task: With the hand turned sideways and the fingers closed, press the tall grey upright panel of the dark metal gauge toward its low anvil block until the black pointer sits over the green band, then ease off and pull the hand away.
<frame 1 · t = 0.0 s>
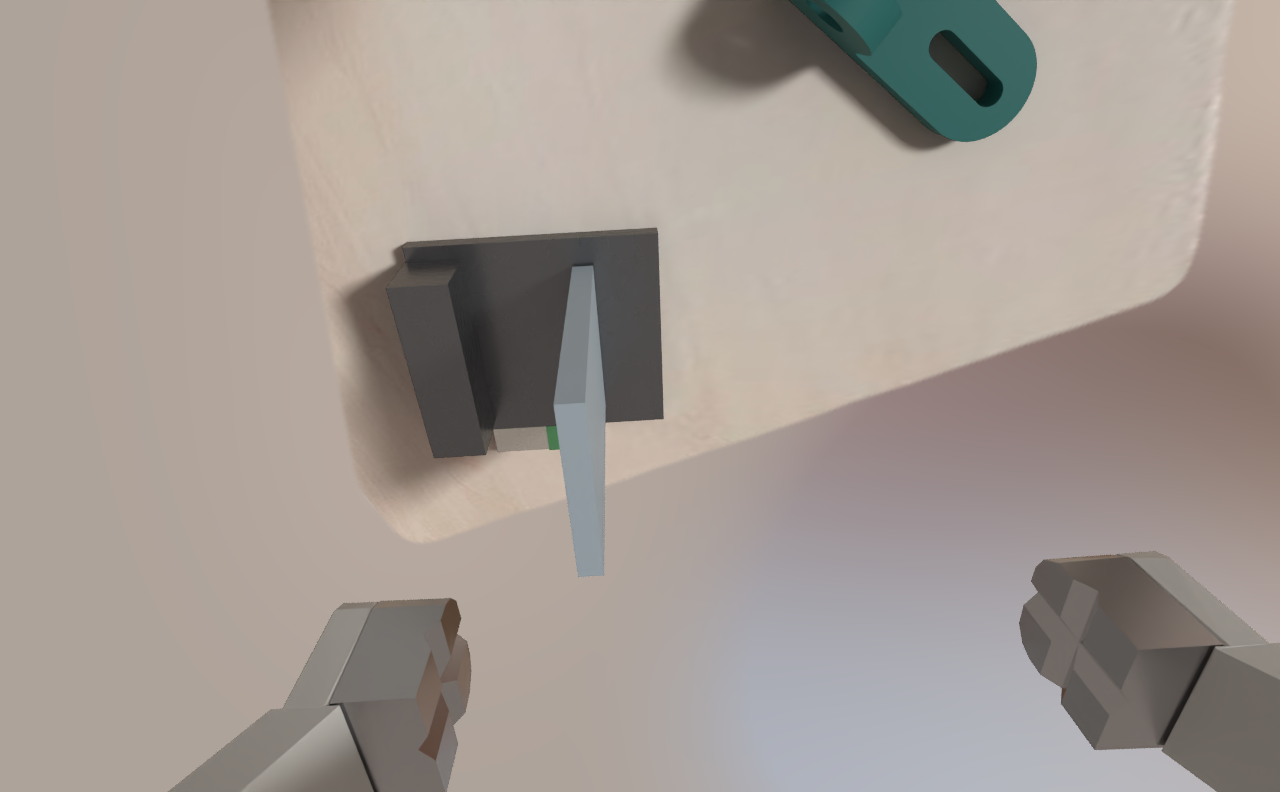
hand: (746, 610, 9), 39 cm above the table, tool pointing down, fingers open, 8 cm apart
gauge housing: (546, 334, 49), on the table
bracket: (904, 22, 39), on the table
grey upright panel: (589, 429, 42), point 10 cm above the table, slide at 0.0 cm
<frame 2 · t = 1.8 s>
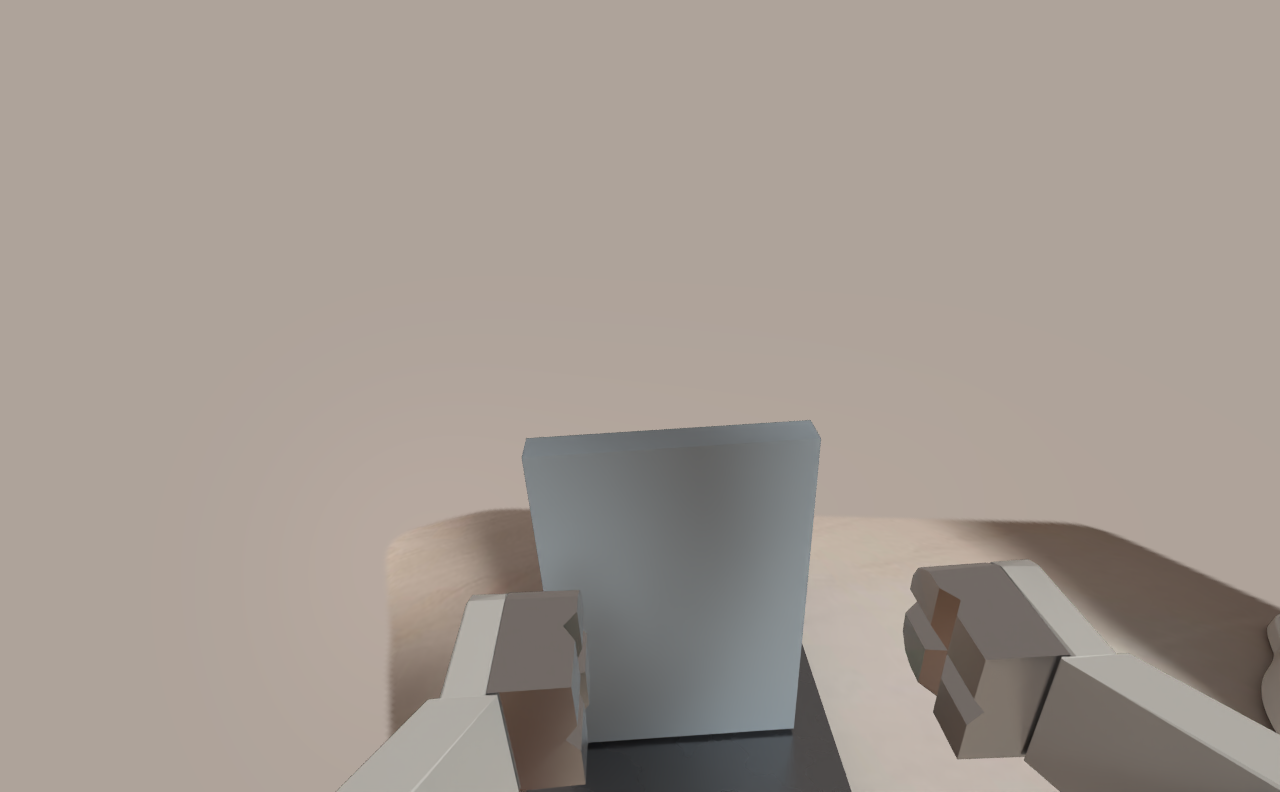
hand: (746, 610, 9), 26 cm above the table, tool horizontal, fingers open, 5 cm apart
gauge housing: (675, 685, 38), on the table
grey upright panel: (633, 603, 30), point 10 cm above the table, slide at 0.0 cm
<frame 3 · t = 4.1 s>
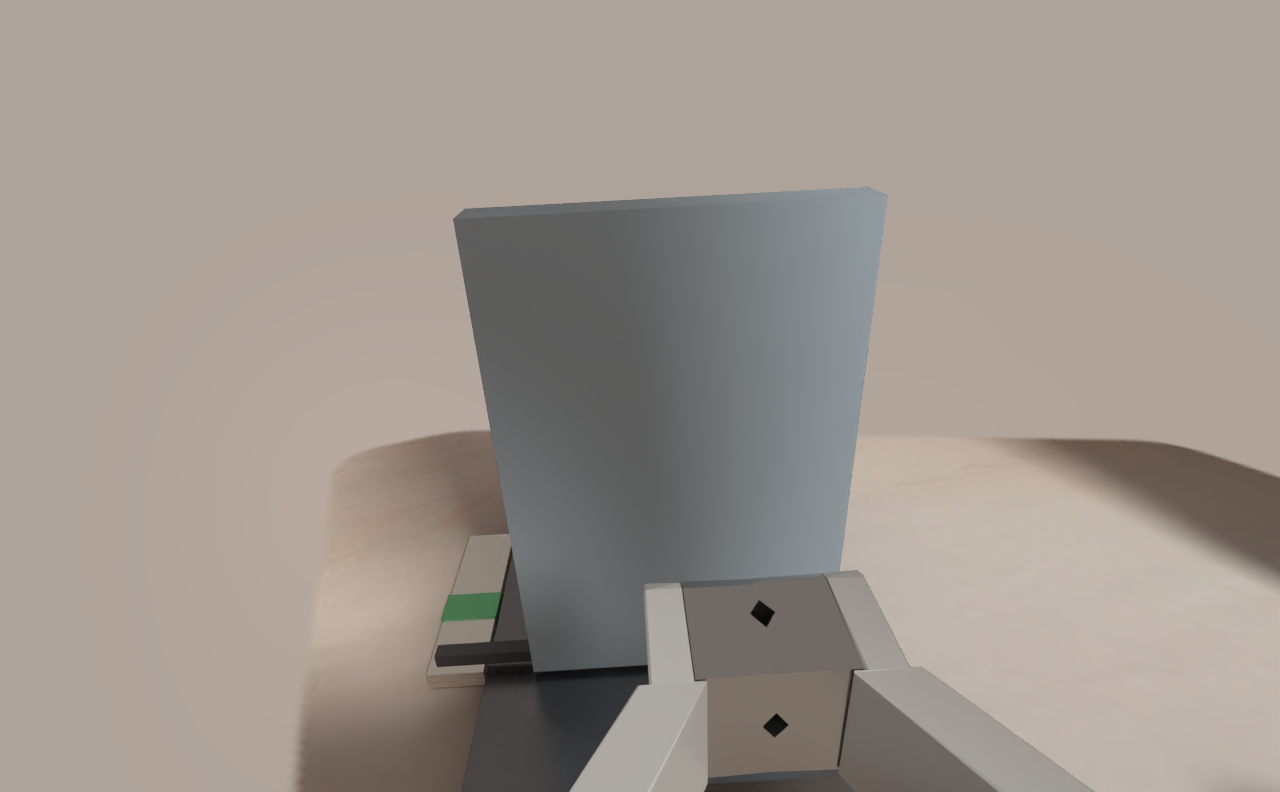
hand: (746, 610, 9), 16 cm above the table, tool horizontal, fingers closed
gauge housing: (673, 610, 30), on the table
grey upright panel: (618, 469, 22), point 11 cm above the table, slide at 0.0 cm
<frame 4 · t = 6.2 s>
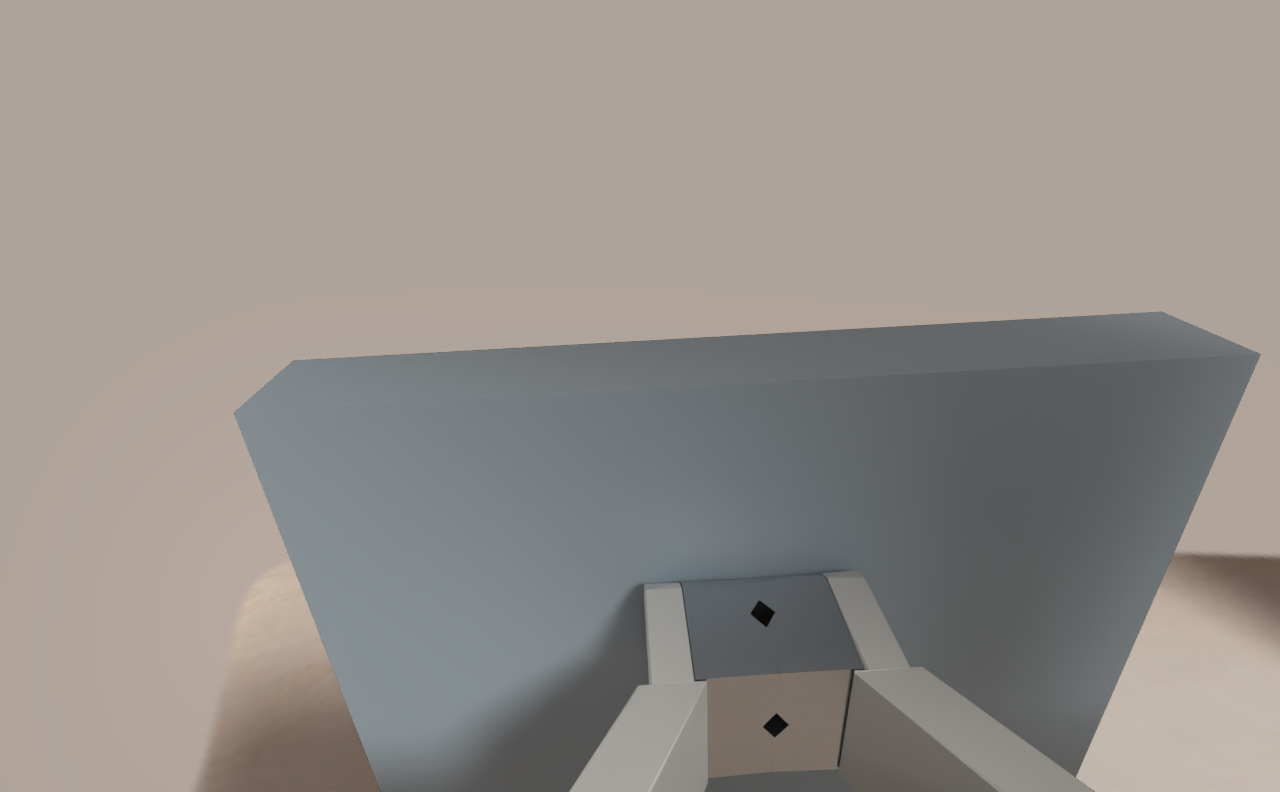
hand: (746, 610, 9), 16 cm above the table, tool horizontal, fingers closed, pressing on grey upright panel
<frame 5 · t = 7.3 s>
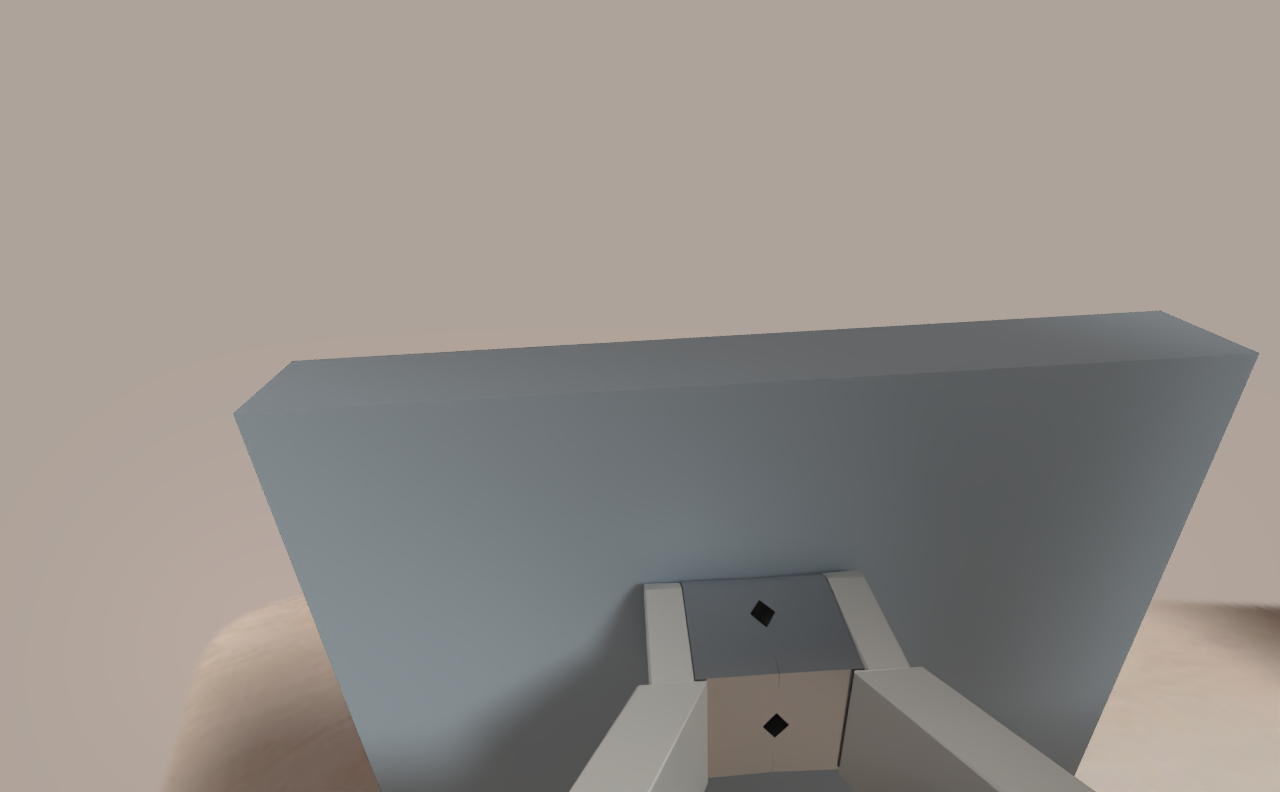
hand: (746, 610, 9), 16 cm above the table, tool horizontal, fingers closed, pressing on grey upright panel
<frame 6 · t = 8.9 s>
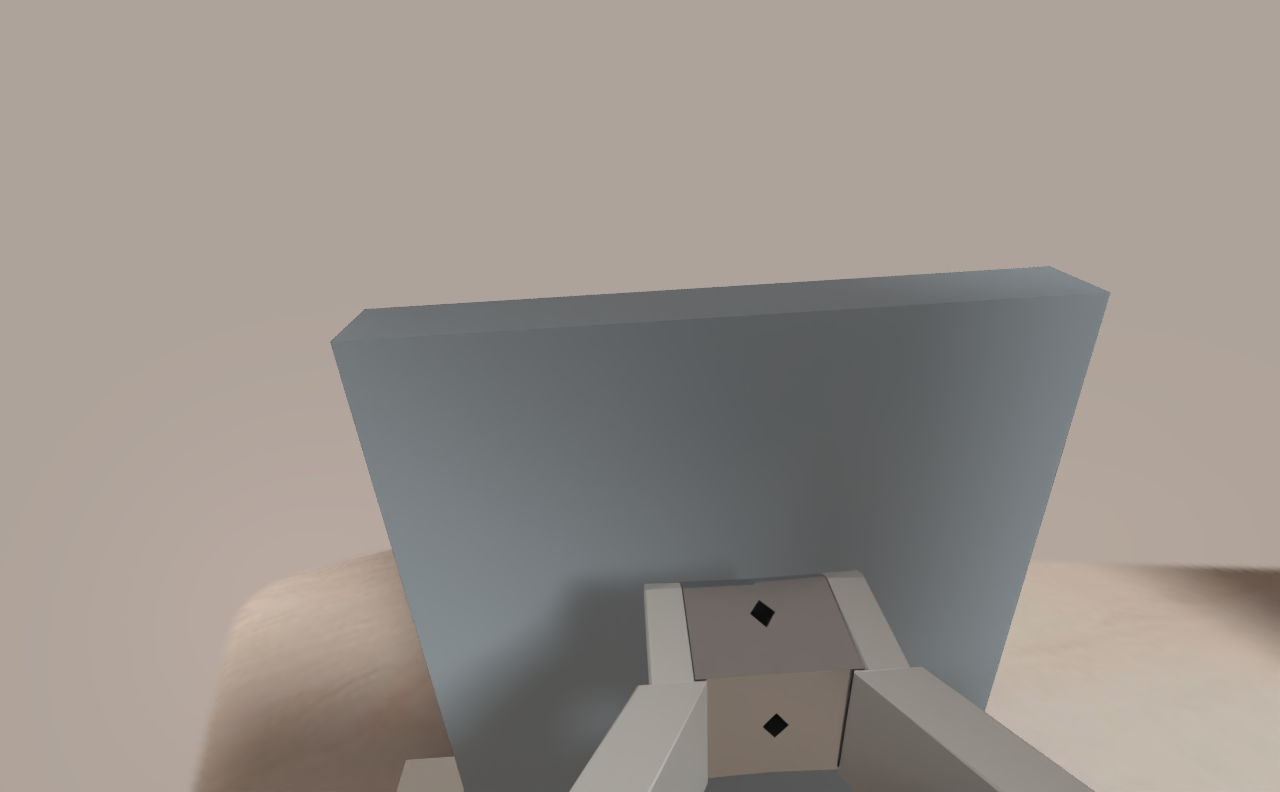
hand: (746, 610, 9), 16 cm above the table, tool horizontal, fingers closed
grey upright panel: (627, 683, 14), point 10 cm above the table, slide at 3.9 cm
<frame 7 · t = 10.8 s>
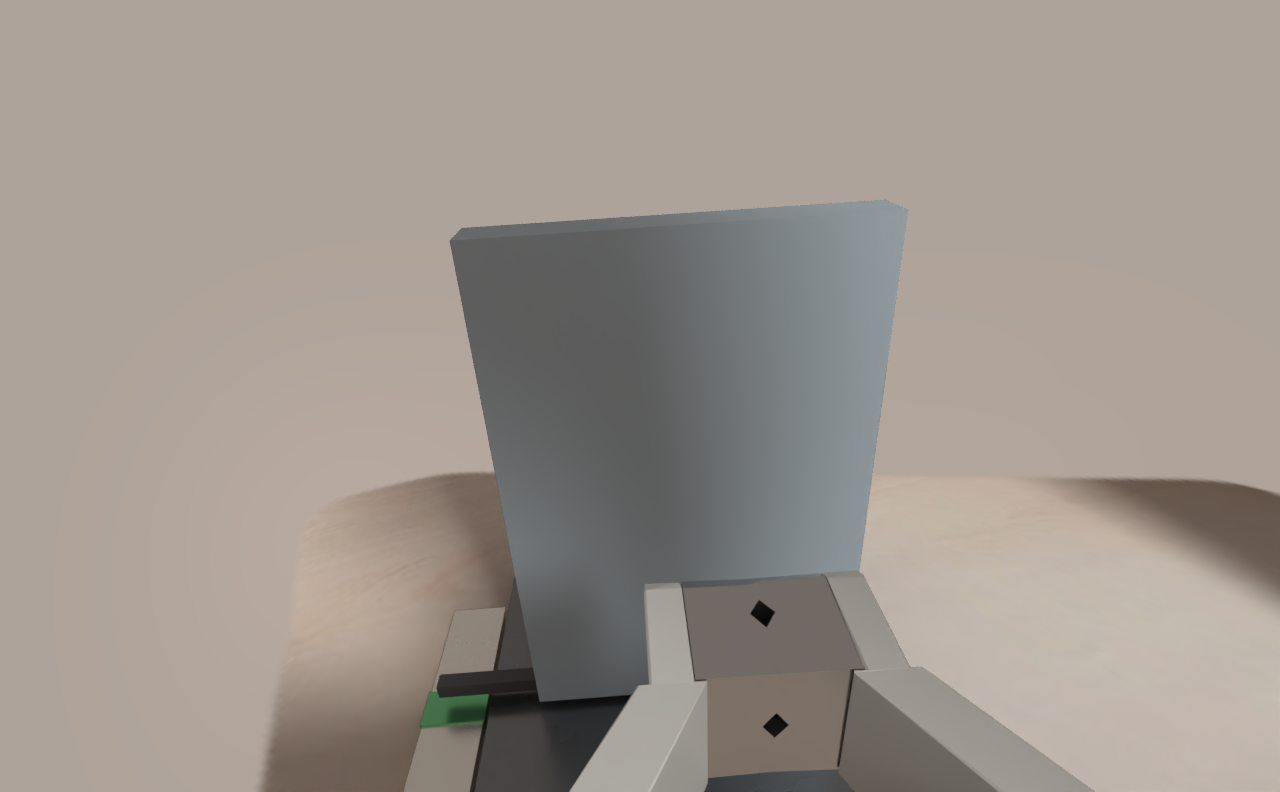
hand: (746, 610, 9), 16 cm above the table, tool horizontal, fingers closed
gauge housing: (692, 707, 26), on the table
grey upright panel: (625, 495, 21), point 11 cm above the table, slide at 3.9 cm
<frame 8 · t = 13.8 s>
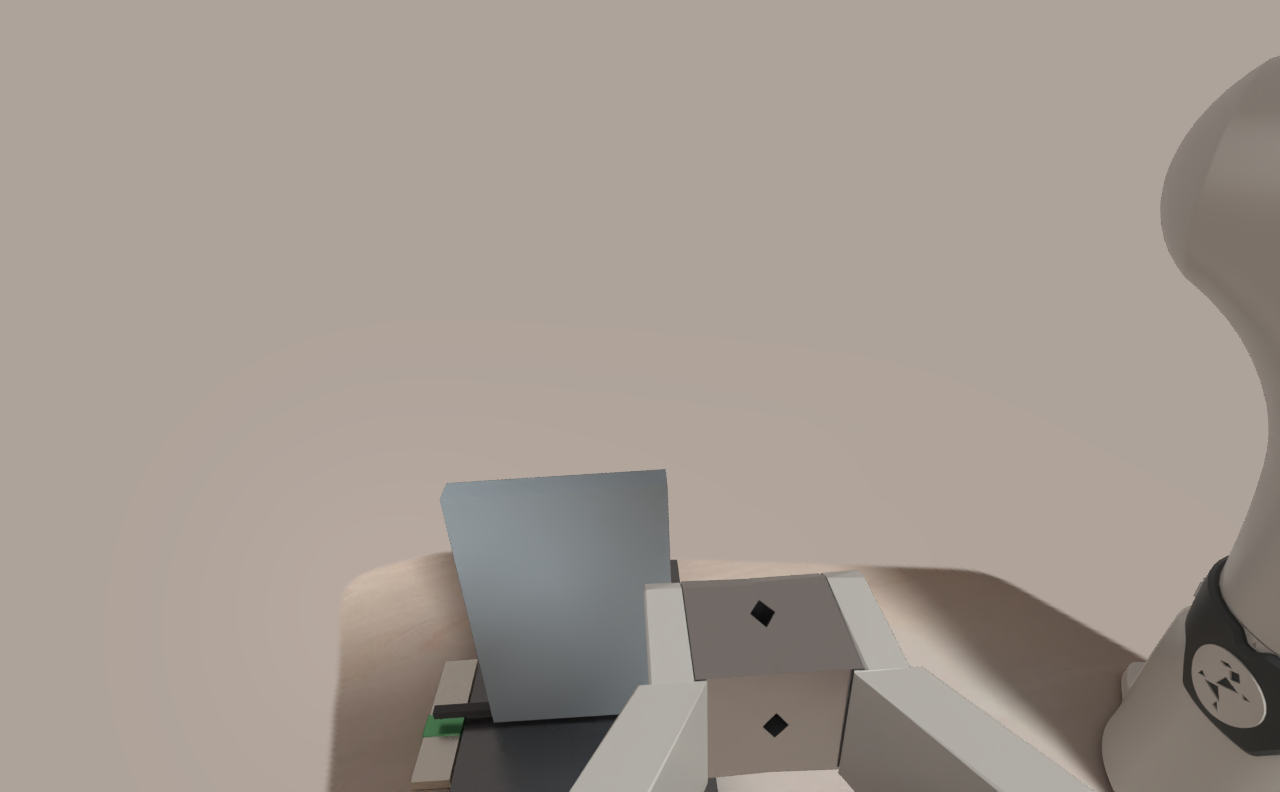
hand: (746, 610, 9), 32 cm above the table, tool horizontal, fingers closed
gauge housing: (587, 726, 42), on the table
grey upright panel: (538, 609, 38), point 11 cm above the table, slide at 3.9 cm
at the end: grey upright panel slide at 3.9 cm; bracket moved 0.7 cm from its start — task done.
